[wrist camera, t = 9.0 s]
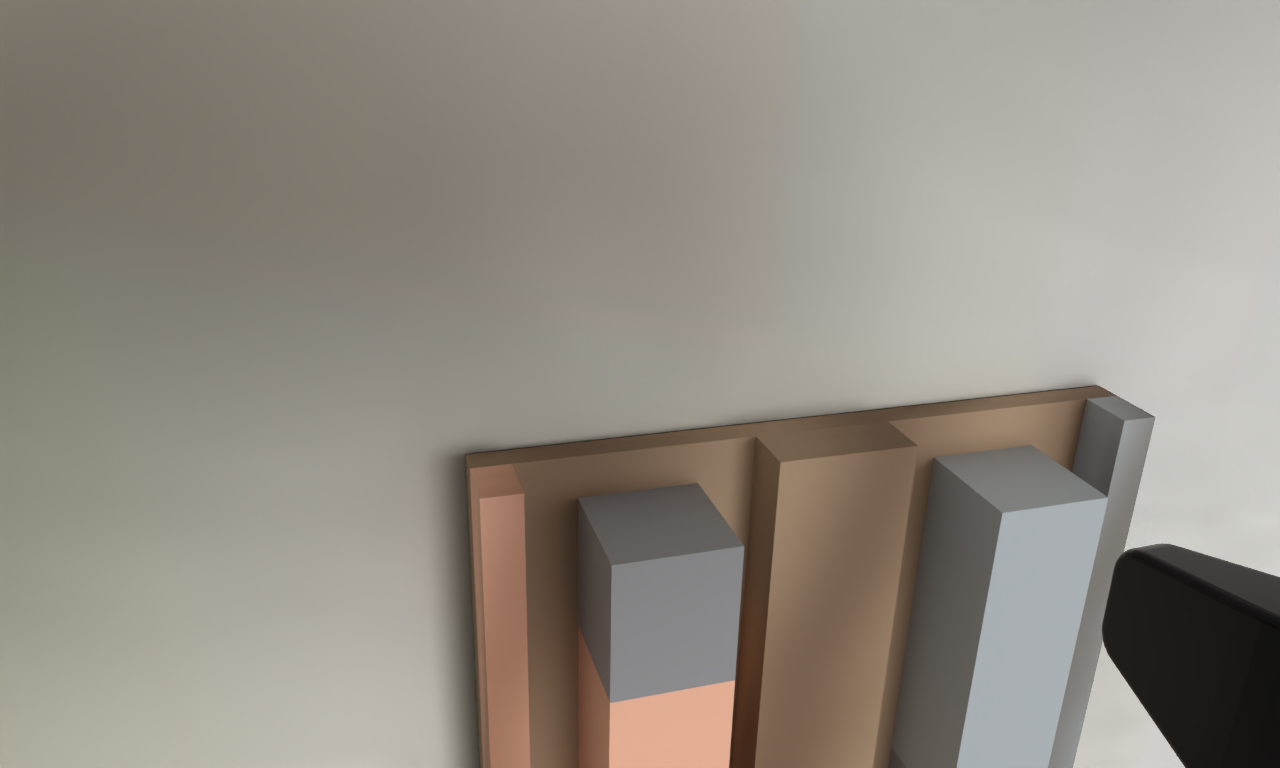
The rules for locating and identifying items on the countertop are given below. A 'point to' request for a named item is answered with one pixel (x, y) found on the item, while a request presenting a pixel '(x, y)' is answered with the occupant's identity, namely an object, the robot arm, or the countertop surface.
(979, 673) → the grey square bar
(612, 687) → the two-tone eraser
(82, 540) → the countertop surface
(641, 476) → the cord caddy
